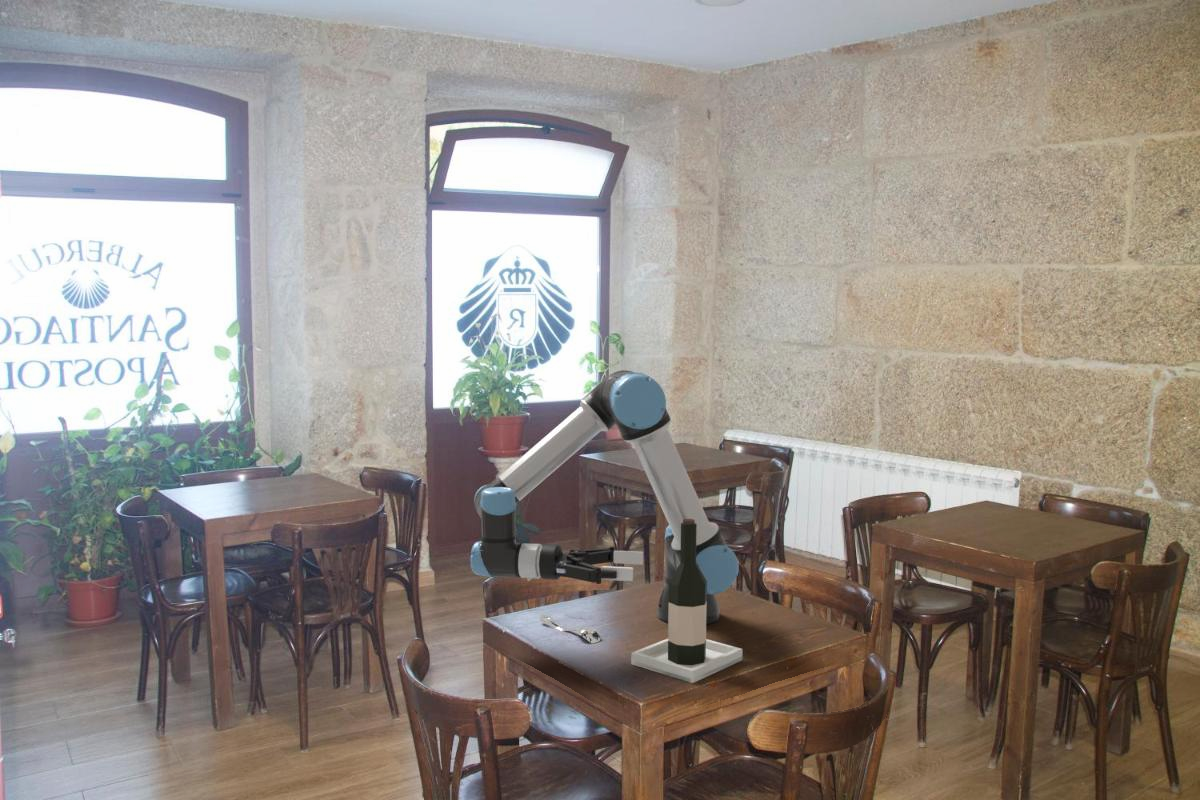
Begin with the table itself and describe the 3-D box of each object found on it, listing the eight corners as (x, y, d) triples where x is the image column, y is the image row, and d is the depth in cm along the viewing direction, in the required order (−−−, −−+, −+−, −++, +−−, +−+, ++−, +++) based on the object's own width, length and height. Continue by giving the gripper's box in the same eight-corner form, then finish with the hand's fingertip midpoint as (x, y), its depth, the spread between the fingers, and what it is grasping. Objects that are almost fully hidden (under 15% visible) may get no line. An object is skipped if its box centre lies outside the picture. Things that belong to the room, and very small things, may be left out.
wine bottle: (659, 660, 215) (661, 520, 212) (679, 649, 222) (681, 514, 219) (694, 668, 210) (696, 526, 208) (713, 657, 217) (715, 519, 214)
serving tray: (682, 643, 228) (682, 632, 228) (742, 660, 218) (742, 648, 217) (631, 664, 215) (631, 652, 215) (692, 683, 204) (692, 671, 204)
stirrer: (534, 608, 242) (550, 604, 245) (533, 622, 242) (549, 619, 245) (588, 634, 227) (604, 630, 230) (588, 649, 227) (604, 645, 230)
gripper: (555, 564, 233) (646, 568, 229) (527, 594, 209) (628, 599, 205) (555, 531, 233) (646, 535, 229) (526, 558, 208) (628, 563, 204)
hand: (638, 566), depth 217 cm, fingers open, 13 cm apart
